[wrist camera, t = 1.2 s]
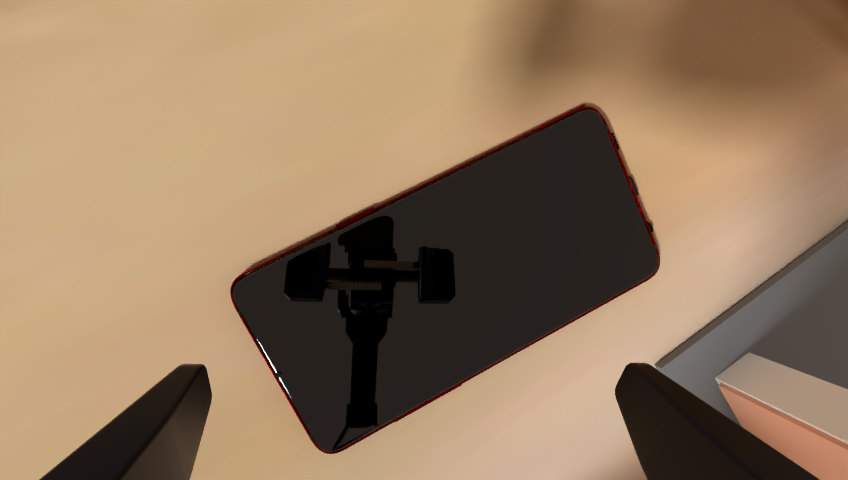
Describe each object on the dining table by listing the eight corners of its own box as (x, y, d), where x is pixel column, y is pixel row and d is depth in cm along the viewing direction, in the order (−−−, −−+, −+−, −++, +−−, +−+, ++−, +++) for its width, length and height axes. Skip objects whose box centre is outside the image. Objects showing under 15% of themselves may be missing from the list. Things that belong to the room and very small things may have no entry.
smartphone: (674, 270, 26) (323, 467, 23) (656, 267, 27) (325, 451, 25) (602, 93, 24) (216, 283, 22) (588, 100, 26) (226, 278, 23)
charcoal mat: (766, 553, 30) (774, 560, 29) (654, 364, 27) (661, 368, 26) (951, 402, 31) (962, 406, 30) (862, 210, 28) (872, 210, 28)
